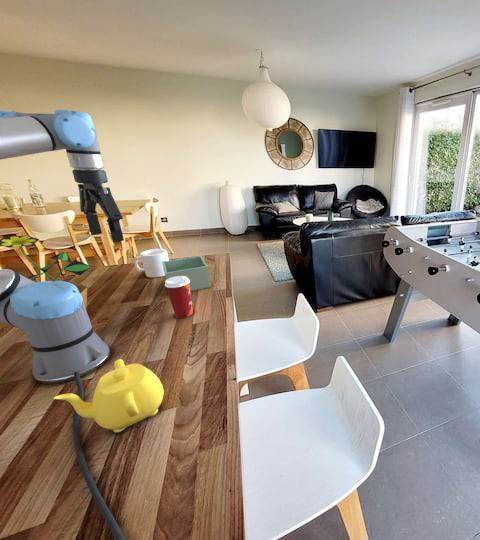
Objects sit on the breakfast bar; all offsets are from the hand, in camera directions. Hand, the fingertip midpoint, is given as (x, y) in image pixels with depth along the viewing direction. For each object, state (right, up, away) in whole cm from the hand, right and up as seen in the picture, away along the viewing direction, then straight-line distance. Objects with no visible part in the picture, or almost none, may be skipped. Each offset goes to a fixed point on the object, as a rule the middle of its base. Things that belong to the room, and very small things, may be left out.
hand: (107, 237), depth 94 cm
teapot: (+29, -44, -29) cm, 60 cm away
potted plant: (-18, -28, +6) cm, 34 cm away
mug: (-15, -12, +44) cm, 48 cm away
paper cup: (+18, -27, +12) cm, 35 cm away
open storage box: (+6, -17, +34) cm, 39 cm away
